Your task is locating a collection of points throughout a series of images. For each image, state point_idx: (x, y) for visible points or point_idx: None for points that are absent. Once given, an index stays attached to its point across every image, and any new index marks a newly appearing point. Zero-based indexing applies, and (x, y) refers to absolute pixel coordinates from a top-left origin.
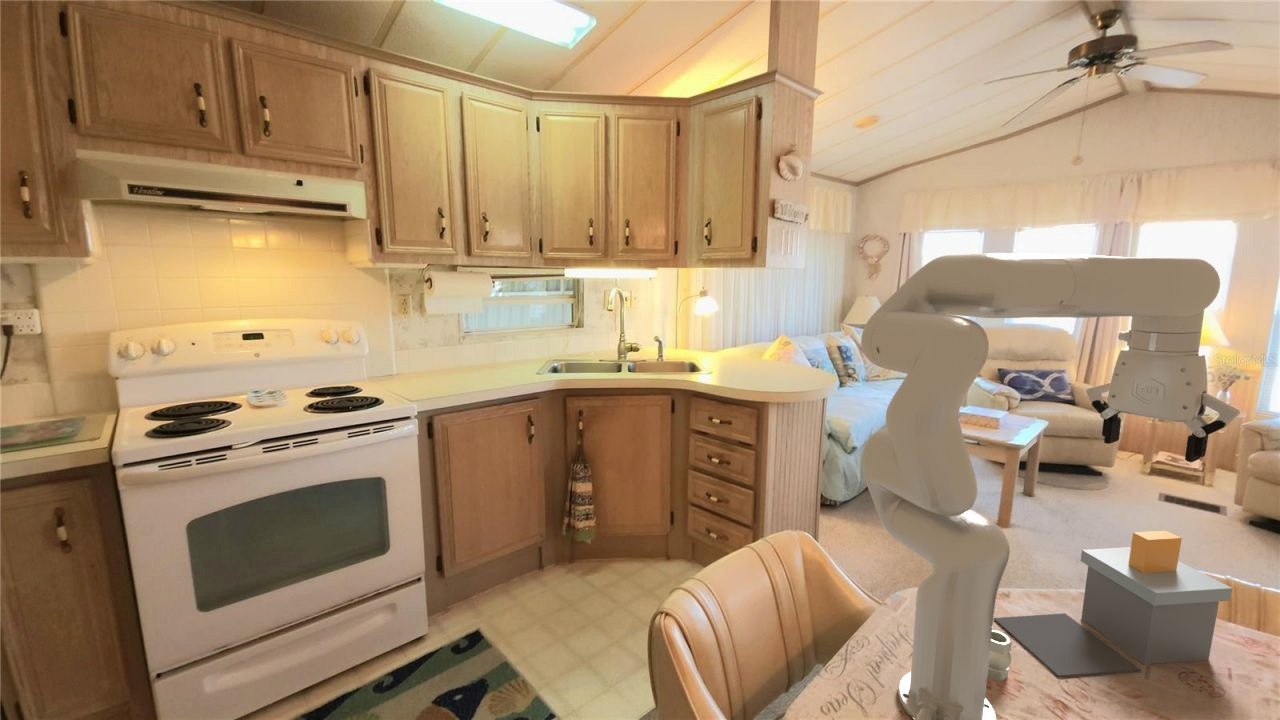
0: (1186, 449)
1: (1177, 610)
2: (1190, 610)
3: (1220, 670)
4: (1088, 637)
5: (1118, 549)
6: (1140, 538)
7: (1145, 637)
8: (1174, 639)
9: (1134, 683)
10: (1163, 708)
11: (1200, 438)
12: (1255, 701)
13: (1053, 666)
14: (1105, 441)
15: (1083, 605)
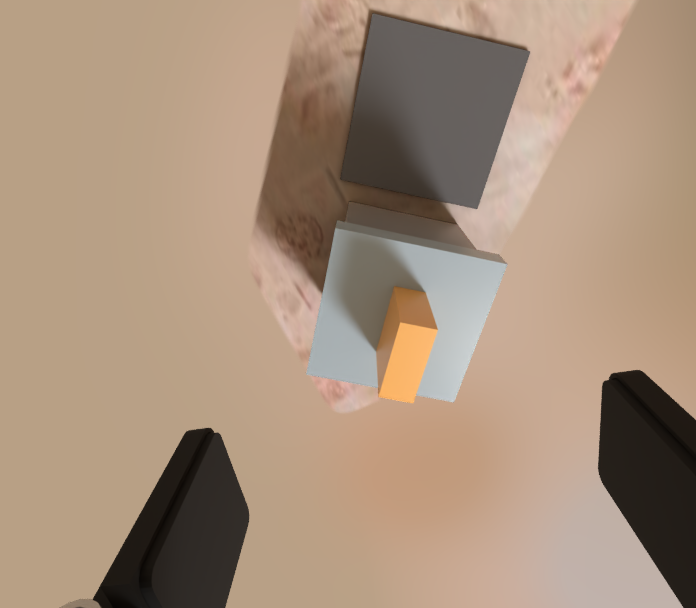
0: (193, 483)
1: None
2: None
3: (310, 291)
4: (419, 179)
5: (471, 337)
6: (417, 323)
7: (352, 213)
8: None
9: (325, 139)
10: (277, 122)
11: (108, 602)
12: (258, 265)
13: (391, 29)
14: (634, 372)
15: (462, 232)
